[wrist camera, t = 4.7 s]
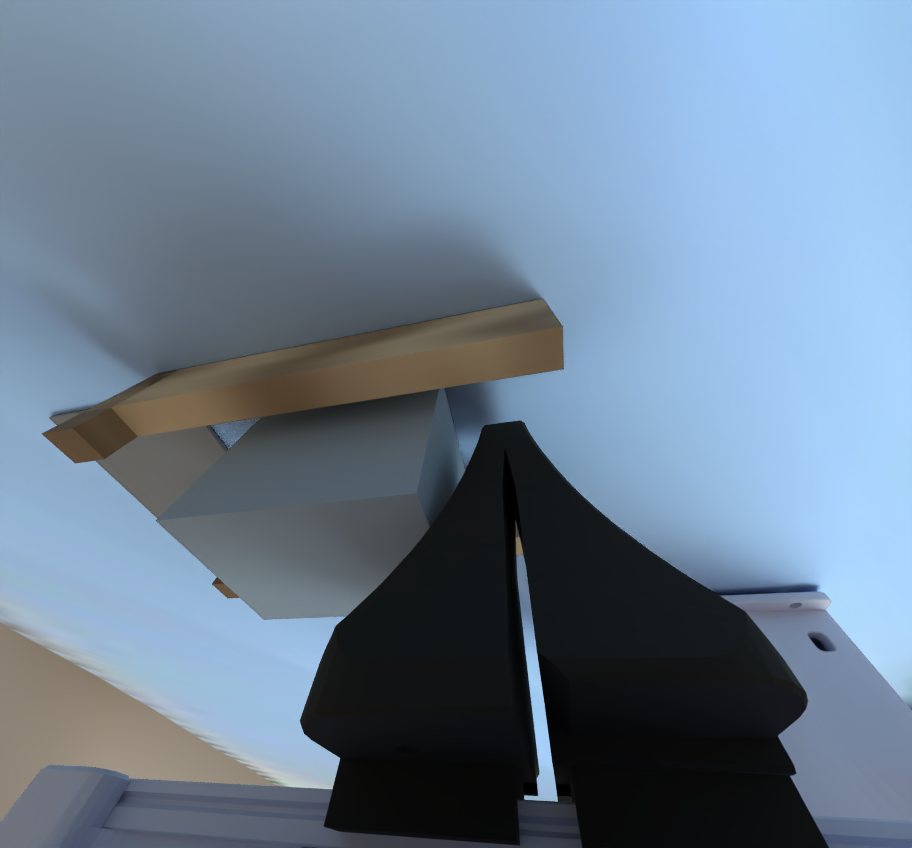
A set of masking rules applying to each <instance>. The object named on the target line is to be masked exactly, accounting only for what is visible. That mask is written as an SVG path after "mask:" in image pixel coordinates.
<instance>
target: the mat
mask: <svg viewBox="0 0 912 848" xmlns="http://www.w3.org/2000/svg"><path fill="white" fill-rule="evenodd" d="M87 410H88V409H87ZM84 411H86V410H81V411H76V412H70V413H65V414H59V415H54V416H51V417H49V418H50V419H51V420H52V421H53V422H54V423H55V424H56V425H57V426H58V425H59V424H61V423H63V422H65V421H67V420H69V419H71V418H73V417H75V416H77V415H79V414H81V413H82V412H84ZM227 451H228V449H227V448H226V446H225V445H224V444H223V442H222V441H221V440H220V438H219V437H218V436H217V434H216V433H215V432H214V430H213V429H212V428H211V427H210V425H208V426H201V427H195V428H189V429H182V430H176V431H170V432H164V433H157V434H151V435H145V436H138V437H137V438H135V439H134V440H132V441H131V442H129V443H128V444H126V445H125V446H123V447H122V448H120V449H119V450H117V451H116V452H114V453H113V454H111V455H110V456H108V457H107V458H106V459H101V460H95V461H96V462H97V463H98V464H99V465H100V466H101V467H103V468H104V469H105V470H106V471H107V472H108V473H109V474H110V475H111V476H112V477H113V478H114V479H115V480H117V481H118V482H119V483H120V484H121V485H122V486H123V487H124V488H125V489H126V490H127V491H128V492H130V493H131V494H132V495H133V496H134V497H135V498H136V499H137V500H138V501H139V502H140V503H141V504H142V505H144V506H145V507H146V508H147V509H148V510H149V511H150V512H151V513H152V514H153V515H154V516H155V517H156V518H159V517H160V516H161V515H162V514H163V513H164V512H165V511H166V510H167V509H168V508H169V507H170V506H171V505H172V504H173V503H174V502H175V501H176V500H177V499H178V498H179V497H180V496H182V495H183V494H184V493H185V492H186V491H187V490H188V489H189V488H190V487H191V486H192V485H193V484H194V483H195V482H196V481H197V480H198V479H199V478H200V477H201V476H202V475H203V474H204V473H205V472H206V471H207V470H208V469H209V468H210V467H211V466H212V465H213V464H214V463H215V462H216V461H217V460H218V459H219V458H220V457H222V456H223V455H224V454H225V453H226V452H227Z"/></svg>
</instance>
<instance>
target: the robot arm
mask: <svg viewBox="0 0 912 848" xmlns="http://www.w3.org/2000/svg"><path fill="white" fill-rule="evenodd" d="M516 523H517V528H518V532H519V537H520V541H521V546H522V550H523V555H524V559H525V564H526V569H527V577H528V585H529V592H530V600H531V608H532V616H533V624H534V631H535V639H536V647H537V654H538V661H539V668H540V675H541V682H542V689H543V696H544V703H545V710H546V718H547V725H548V733H549V740H550V748H551V756H552V763H553V769H554V776H555V782H556V790H557V797H558V802H554V801H535V800H524V795H528V796H538V790H537V780H536V779H537V777H538V775H539V765H538V757H537V749H536V740H535V731H534V723H533V714H532V706H531V697H530V688H529V680H528V671H527V662H526V654H525V645H524V636H523V627H522V618H521V609H520V600H519V591H518V581H517V561H516ZM830 604H831V600H830V599H829V598H828V596H827V595H826V594H825V593H823V592H817V591H815V592H792V593H769V594H746V595H724V596H719V595H718V594H716V593H714V592H713V591H711V590H709V589H708V588H706V587H704V586H703V585H701V584H700V583H698V582H696V581H695V580H693V579H691V578H690V577H688V576H687V575H685V574H684V573H682V572H680V571H679V570H678V569H676V568H675V567H673V566H672V565H670V564H669V563H667V562H666V561H664V560H663V559H661V558H660V557H658V556H657V555H656V554H654V553H653V552H651V551H650V550H649V549H647V548H646V547H645V546H643V545H642V544H641V543H639V542H638V541H637V540H635V539H634V538H633V537H631V536H630V535H629V534H627V533H626V532H625V531H623V530H622V529H621V528H619V527H618V526H617V525H615V524H614V523H613V522H612V521H610V520H609V519H608V518H607V517H606V516H605V515H603V514H602V513H601V512H600V511H599V510H597V509H596V508H595V507H594V506H593V505H592V504H591V503H590V502H589V501H587V500H586V499H585V498H584V497H583V496H582V495H581V494H580V493H579V492H578V491H577V490H576V489H575V488H574V487H573V486H572V485H571V484H570V483H569V482H568V481H567V480H566V479H565V478H564V477H563V475H562V474H561V473H560V472H559V471H558V470H557V469H556V468H555V467H554V465H553V464H552V463H551V462H550V460H549V459H548V458H547V457H546V455H545V454H544V453H543V452H542V450H541V449H540V448H539V446H538V445H537V444H536V442H535V441H534V439H533V438H532V436H531V434H530V433H529V431H528V429H527V427H526V425H525V423H524V422H522V421H513V422H505V423H498V424H490V425H485V426H484V427H483V428H482V430H481V434H480V437H479V440H478V443H477V446H476V448H475V450H474V453H473V455H472V457H471V459H470V462H469V464H468V466H467V468H466V470H465V472H464V474H463V476H462V478H461V480H460V481H459V483H458V485H457V487H456V489H455V490H454V492H453V494H452V495H451V497H450V499H449V500H448V502H447V503H446V505H445V507H444V508H443V509H442V511H441V512H440V514H439V515H438V517H437V518H436V520H435V521H434V522H433V524H432V525H431V526H430V528H429V529H428V530H427V532H426V533H425V534H424V535H423V537H422V538H421V539H420V541H419V542H418V543H417V544H416V545H415V547H414V548H413V549H412V550H411V551H410V553H409V554H408V555H407V556H406V557H405V558H404V559H403V560H402V561H401V562H400V563H399V565H398V566H397V567H396V568H395V569H394V570H393V571H392V572H391V573H390V574H389V576H388V577H387V578H386V579H385V580H384V581H383V582H382V583H381V584H380V585H379V586H378V587H377V588H376V589H375V590H374V591H373V592H372V593H371V594H370V595H369V596H367V597H366V598H365V599H364V600H363V601H362V602H361V603H360V604H359V605H358V606H357V607H356V608H355V609H354V610H353V611H352V612H351V613H350V614H348V615H347V616H346V617H345V618H344V619H343V620H342V621H341V622H340V623H339V624H337V625H336V626H335V629H334V631H333V634H332V636H331V638H330V640H329V643H328V645H327V647H326V649H325V651H324V654H323V656H322V659H321V661H320V664H319V667H318V670H317V673H316V676H315V678H314V681H313V684H312V687H311V690H310V693H309V696H308V699H307V702H306V704H305V707H304V710H303V713H302V716H301V719H300V723H301V726H302V729H303V732H304V734H305V735H306V736H308V737H309V738H310V739H311V740H313V741H314V742H316V743H317V744H319V745H321V746H322V747H324V748H325V749H327V750H328V751H330V752H332V753H333V754H335V755H336V756H338V757H340V762H339V766H338V770H337V774H336V778H335V782H334V786H333V789H314V788H296V787H277V786H259V785H240V784H222V783H204V782H185V781H167V780H166V781H165V780H148V779H130V778H129V776H128V775H125V774H122V773H119V772H116V771H111V770H107V769H102V768H96V767H85V766H84V767H83V766H64V765H48V766H46V767H44V768H43V769H41V770H40V772H39V773H38V774H37V775H36V777H35V778H34V779H33V781H32V782H31V783H30V784H29V785H28V787H27V788H26V789H25V791H24V792H23V793H22V794H21V796H20V797H19V798H18V800H17V801H16V802H15V803H14V805H13V806H12V807H11V809H10V810H9V811H8V813H7V814H6V815H5V816H4V818H3V819H2V820H1V822H0V848H912V710H911V709H910V708H909V707H908V706H907V705H906V703H905V702H904V701H903V700H902V699H901V698H900V696H899V695H898V694H897V693H896V692H895V691H894V689H893V688H892V687H891V686H890V685H889V684H888V682H887V681H886V680H885V679H884V678H883V677H882V675H881V674H880V673H879V672H878V671H877V670H876V668H875V667H874V666H873V665H872V664H871V663H870V661H869V660H868V659H867V658H866V657H865V656H864V654H863V653H862V652H861V651H860V650H859V649H858V647H857V646H856V645H855V644H854V643H853V642H852V640H851V639H850V638H849V637H848V636H847V635H846V633H845V632H844V631H843V630H842V629H841V628H840V626H839V625H838V624H837V623H836V622H835V621H834V619H833V618H832V617H831V616H830V615H829V614H828V612H827V611H826V609H827V608H828V606H829V605H830Z"/></svg>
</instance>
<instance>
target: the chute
mask: <svg viewBox="0 0 912 848" xmlns="http://www.w3.org/2000/svg"><path fill="white" fill-rule="evenodd" d="M561 369H564V361H563V326H562V325H561V323H560V322H559V320H558V319H557V318H556V316H555V315H554V313H553V312H552V310H551V309H550V307H549V306H548V305H547V303H546V302H545V300H544V299H538V300H533V301H528V302H523V303H517V304H512V305H507V306H502V307H497V308H492V309H487V310H482V311H476V312H471V313H466V314H461V315H456V316H451V317H446V318H440V319H435V320H430V321H425V322H420V323H415V324H410V325H405V326H399V327H394V328H389V329H384V330H379V331H374V332H369V333H364V334H358V335H353V336H348V337H343V338H338V339H333V340H328V341H323V342H317V343H312V344H307V345H302V346H297V347H292V348H287V349H281V350H276V351H271V352H266V353H261V354H256V355H251V356H246V357H240V358H235V359H230V360H225V361H220V362H215V363H210V364H205V365H199V366H194V367H189V368H184V369H179V370H174V371H169V372H164V373H158V374H155V375H153V376H151V377H150V378H148V379H146V380H144V381H142V382H140V383H138V384H136V385H134V386H132V387H130V388H128V389H127V390H125V391H123V392H121V393H119V394H117V395H115V396H113V397H111V398H109V399H107V400H105V401H104V402H102V403H100V404H98V405H96V406H94V407H92V408H90V409H88V410H86V411H84V412H82V413H81V414H79V415H77V416H75V417H73V418H71V419H69V420H67V421H65V422H63V423H61V424H59V425H58V426H56V427H54V428H52V429H50V430H48V431H46V432H44V433H42V434H43V435H44V436H45V437H46V438H47V439H48V440H49V441H50V442H52V443H53V444H54V445H55V446H56V447H57V448H58V449H59V450H61V451H62V452H63V453H64V454H65V455H66V456H67V457H69V458H70V459H71V460H72V461H73V462H74V463H81V462H88V461H95V460H101V459H106V458H107V457H108V456H110V455H111V454H113V453H114V452H116V451H117V450H119V449H120V448H122V447H123V446H125V445H126V444H128V443H129V442H131V441H132V440H134V439H135V438H137V437H138V436H145V435H151V434H157V433H164V432H170V431H176V430H182V429H189V428H195V427H201V426H208V425H214V424H220V423H227V422H233V421H239V420H246V419H252V418H258V417H265V416H271V415H277V414H283V413H290V412H296V411H302V410H309V409H315V408H321V407H328V406H334V405H340V404H347V403H353V402H359V401H366V400H372V399H378V398H385V397H391V396H397V395H403V394H410V393H416V392H422V391H429V390H435V389H441V388H448V387H454V386H460V385H467V384H473V383H479V382H486V381H492V380H498V379H504V378H511V377H517V376H523V375H530V374H536V373H542V372H549V371H555V370H561ZM516 555H523V550H522V546H521V541H520V537H519V532H518V528H517V523H516ZM212 585H213V586H214V587H216V588H217V589H218V590H219V591H220V592H221V593H222V594H224V595H225V596H226V597H227V598H240V597H238V596H237V595H236V594H235V593H234V592H233V591H232V590H231V589H230V588H229V587H228V586H226V585H225V584H224V583H223V582H222V581H221V580H220V579H219V578H218V577H217V578H216V579H215V581H214V582H213V584H212Z"/></svg>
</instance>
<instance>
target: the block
mask: <svg viewBox="0 0 912 848" xmlns="http://www.w3.org/2000/svg"><path fill="white" fill-rule="evenodd" d="M464 472H465V467H464V463H463V459H462V455H461V451H460V447H459V443H458V439H457V435H456V431H455V428H454V424H453V420H452V416H451V412H450V408H449V404H448V400H447V396H446V392H445V388H441V389H435V390H429V391H422V392H416V393H410V394H403V395H397V396H391V397H385V398H378V399H372V400H366V401H359V402H353V403H347V404H340V405H334V406H328V407H321V408H315V409H309V410H302V411H296V412H290V413H283V414H277V415H271V416H265V417H261V418H260V419H259V420H258V421H257V422H256V423H255V424H254V425H253V426H252V427H251V428H250V429H249V430H248V431H247V432H246V433H245V434H244V435H243V436H242V437H241V438H240V439H239V440H238V441H237V442H236V443H235V444H234V445H233V446H232V447H231V448H230V449H229V450H228V451H227V452H226V453H225V454H224V455H223V456H222V457H220V458H219V459H218V460H217V461H216V462H215V463H214V464H213V465H212V466H211V467H210V468H209V469H208V470H207V471H206V472H205V473H204V474H203V475H202V476H201V477H200V478H199V479H198V480H197V481H196V482H195V483H194V484H193V485H192V486H191V487H190V488H189V489H188V490H187V491H186V492H185V493H184V494H183V495H182V496H180V497H179V498H178V499H177V500H176V501H175V502H174V503H173V504H172V505H171V506H170V507H169V508H168V509H167V510H166V511H165V512H164V513H163V514H162V515H161V516H160V517H159V518H158V519H157V520H156V521H157V522H158V523H159V524H160V525H161V526H162V527H163V528H164V529H165V530H166V531H168V532H169V533H170V534H171V535H172V536H173V537H174V538H175V539H176V540H177V541H178V542H180V543H181V544H182V545H183V546H184V547H185V548H186V549H187V550H188V551H189V552H190V553H192V554H193V555H194V556H195V557H196V558H197V559H198V560H199V561H200V562H201V563H202V564H204V565H205V566H206V567H207V568H208V569H209V570H210V571H211V572H212V573H213V574H214V575H216V576H217V577H218V578H219V579H220V580H221V581H222V582H223V583H224V584H225V585H226V586H228V587H229V588H230V589H231V590H232V591H233V592H234V593H235V594H236V595H237V596H238V597H240V598H241V599H242V600H243V601H244V602H245V603H246V604H247V605H248V606H249V607H250V608H252V609H253V610H254V611H255V612H256V613H257V614H258V615H259V616H260V617H261V618H262V619H264V620H267V619H291V618H315V617H339V616H347V615H348V614H350V613H351V612H352V611H353V610H354V609H355V608H356V607H357V606H358V605H359V604H360V603H361V602H362V601H363V600H364V599H365V598H366V597H367V596H369V595H370V594H371V593H372V592H373V591H374V590H375V589H376V588H377V587H378V586H379V585H380V584H381V583H382V582H383V581H384V580H385V579H386V578H387V577H388V576H389V574H390V573H391V572H392V571H393V570H394V569H395V568H396V567H397V566H398V565H399V563H400V562H401V561H402V560H403V559H404V558H405V557H406V556H407V555H408V554H409V553H410V551H411V550H412V549H413V548H414V547H415V545H416V544H417V543H418V542H419V541H420V539H421V538H422V537H423V535H424V534H425V533H426V532H427V530H428V529H429V528H430V526H431V525H432V524H433V522H434V521H435V520H436V518H437V517H438V515H439V514H440V512H441V511H442V509H443V508H444V507H445V505H446V503H447V502H448V500H449V499H450V497H451V495H452V494H453V492H454V490H455V489H456V487H457V485H458V483H459V481H460V480H461V478H462V476H463V474H464Z"/></svg>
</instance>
